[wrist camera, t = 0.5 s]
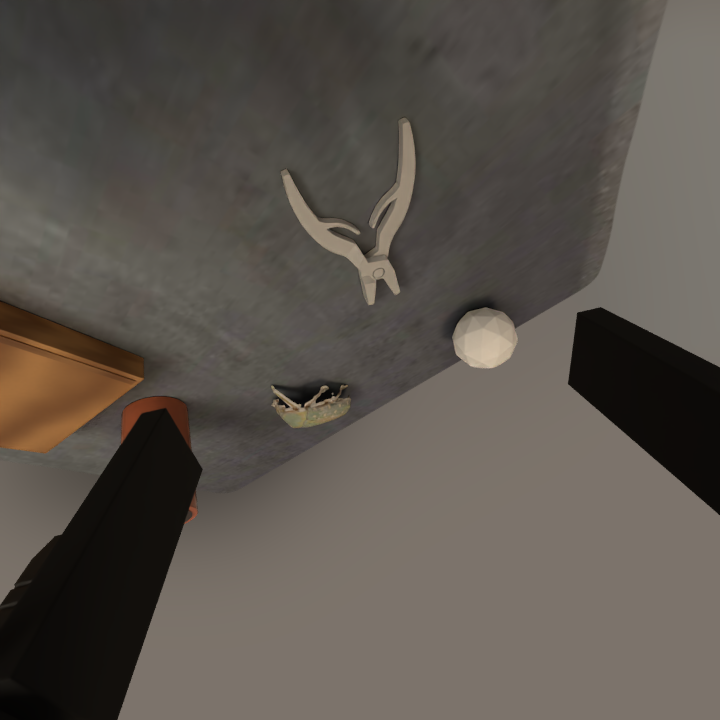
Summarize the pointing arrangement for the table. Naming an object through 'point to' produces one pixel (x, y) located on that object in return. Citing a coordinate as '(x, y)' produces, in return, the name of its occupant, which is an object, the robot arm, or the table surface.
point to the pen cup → (177, 413)
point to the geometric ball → (484, 338)
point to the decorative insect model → (312, 409)
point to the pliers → (375, 260)
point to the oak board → (55, 379)
